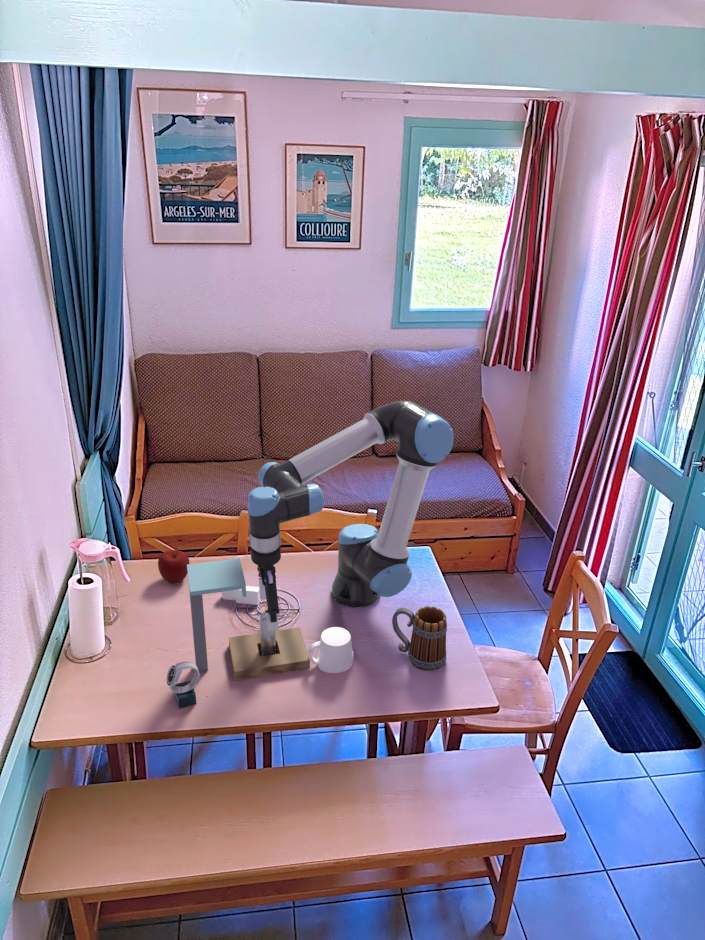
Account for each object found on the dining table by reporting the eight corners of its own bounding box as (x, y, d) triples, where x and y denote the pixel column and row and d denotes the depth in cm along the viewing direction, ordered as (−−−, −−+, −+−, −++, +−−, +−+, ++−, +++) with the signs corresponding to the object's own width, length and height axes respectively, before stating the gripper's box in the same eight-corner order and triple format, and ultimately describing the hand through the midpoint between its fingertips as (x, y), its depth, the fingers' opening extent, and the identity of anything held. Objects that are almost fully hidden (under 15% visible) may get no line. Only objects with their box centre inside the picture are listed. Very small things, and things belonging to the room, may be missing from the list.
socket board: (299, 635, 207) (299, 627, 206) (309, 668, 195) (309, 660, 194) (229, 646, 202) (228, 637, 201) (235, 680, 190) (234, 671, 189)
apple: (187, 589, 225) (184, 562, 220) (156, 588, 225) (153, 561, 221) (193, 572, 233) (191, 545, 229) (163, 571, 233) (161, 544, 229)
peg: (260, 653, 200) (258, 612, 194) (274, 651, 201) (273, 610, 195) (262, 663, 196) (261, 621, 190) (277, 660, 197) (276, 619, 191)
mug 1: (349, 624, 198) (356, 643, 191) (348, 651, 202) (355, 671, 195) (306, 630, 195) (312, 649, 188) (306, 657, 199) (311, 677, 192)
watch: (167, 695, 185) (163, 662, 180) (198, 687, 188) (195, 654, 183) (171, 711, 180) (167, 677, 175) (203, 702, 183) (200, 668, 178)
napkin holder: (270, 603, 221) (270, 587, 218) (240, 619, 214) (239, 603, 211) (240, 581, 230) (239, 566, 228) (210, 596, 223) (209, 581, 221)
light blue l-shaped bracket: (244, 646, 202) (239, 558, 189) (249, 675, 192) (245, 584, 179) (194, 653, 199) (186, 564, 186) (197, 683, 189) (189, 591, 176)
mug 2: (449, 651, 203) (454, 608, 196) (441, 676, 194) (446, 631, 187) (396, 638, 207) (399, 595, 201) (385, 661, 198) (388, 617, 192)
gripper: (244, 522, 192) (248, 587, 202) (257, 576, 171) (262, 646, 181) (272, 519, 194) (275, 583, 204) (289, 571, 173) (291, 641, 182)
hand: (269, 613), depth 192 cm, fingers open, 13 cm apart
